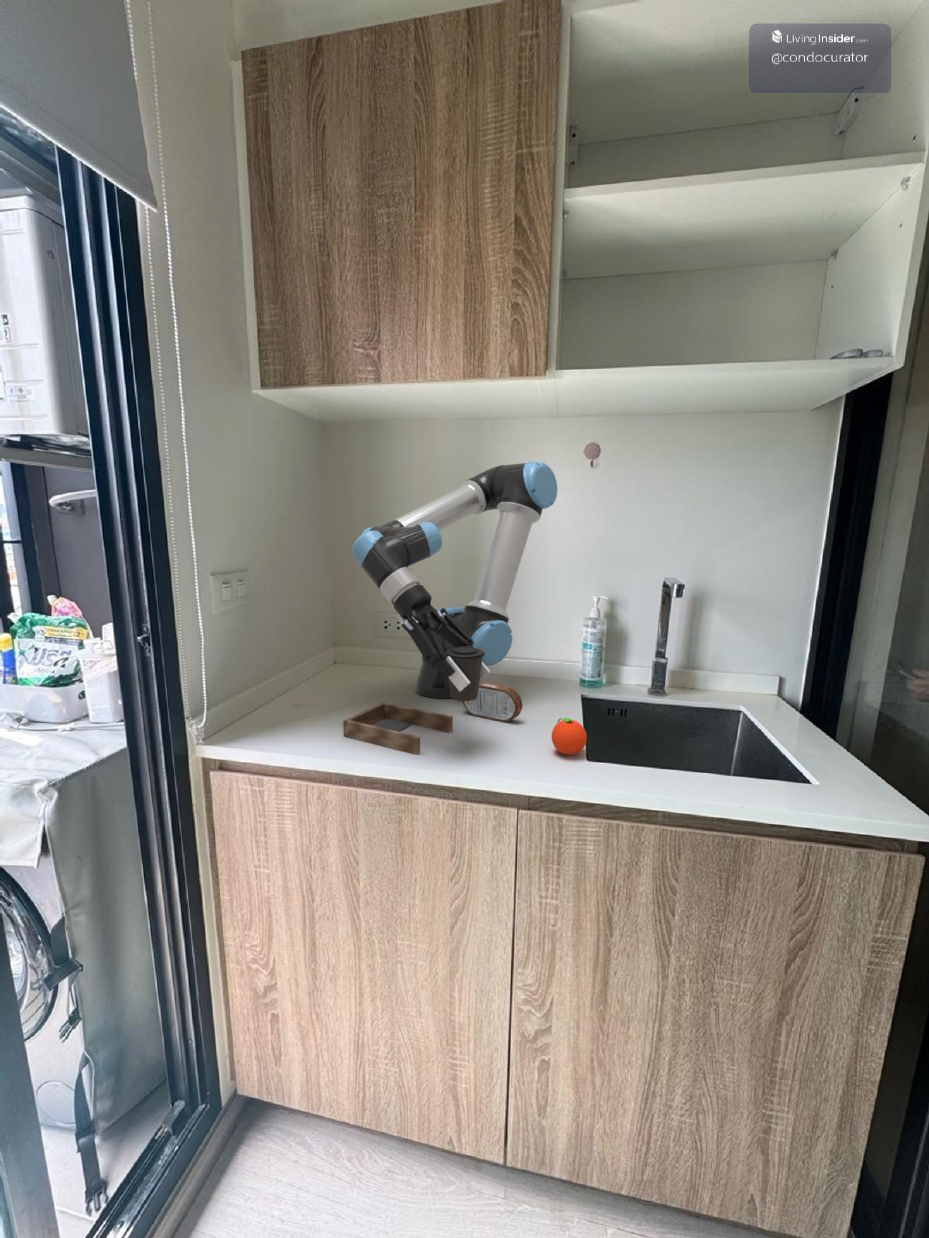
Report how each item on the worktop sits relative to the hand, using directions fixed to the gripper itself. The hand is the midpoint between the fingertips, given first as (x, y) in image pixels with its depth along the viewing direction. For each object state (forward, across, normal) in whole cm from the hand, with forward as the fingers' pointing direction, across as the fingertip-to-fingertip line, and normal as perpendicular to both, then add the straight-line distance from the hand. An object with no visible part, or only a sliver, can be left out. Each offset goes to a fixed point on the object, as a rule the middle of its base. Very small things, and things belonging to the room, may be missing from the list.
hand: (475, 681), depth 103 cm
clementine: (+22, -8, +1) cm, 24 cm away
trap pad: (-6, 0, -26) cm, 27 cm away
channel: (-3, 0, -23) cm, 24 cm away
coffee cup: (+1, 0, -4) cm, 5 cm away
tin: (+7, -19, -14) cm, 25 cm away
